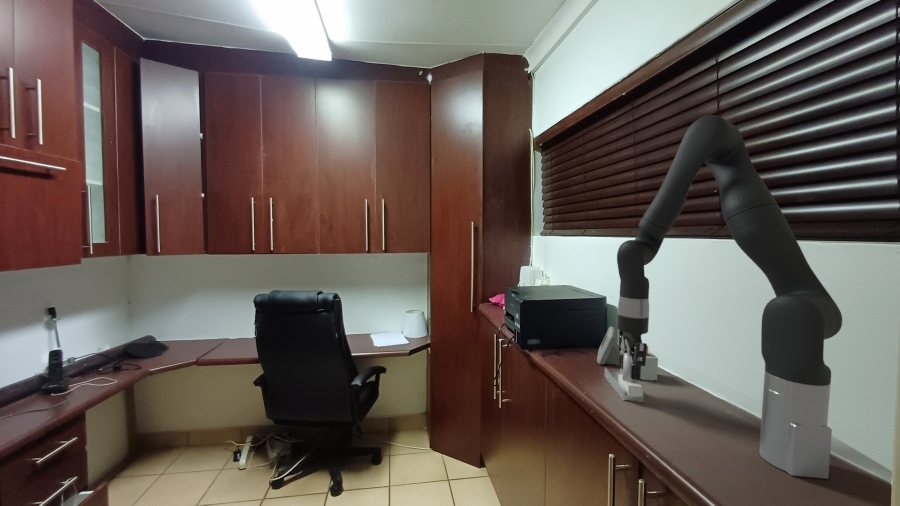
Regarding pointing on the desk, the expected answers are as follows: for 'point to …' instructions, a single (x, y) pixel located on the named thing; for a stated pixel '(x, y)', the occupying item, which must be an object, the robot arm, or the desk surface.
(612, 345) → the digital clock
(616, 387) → the rail
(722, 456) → the desk surface
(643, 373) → the button housing
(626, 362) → the carriage
